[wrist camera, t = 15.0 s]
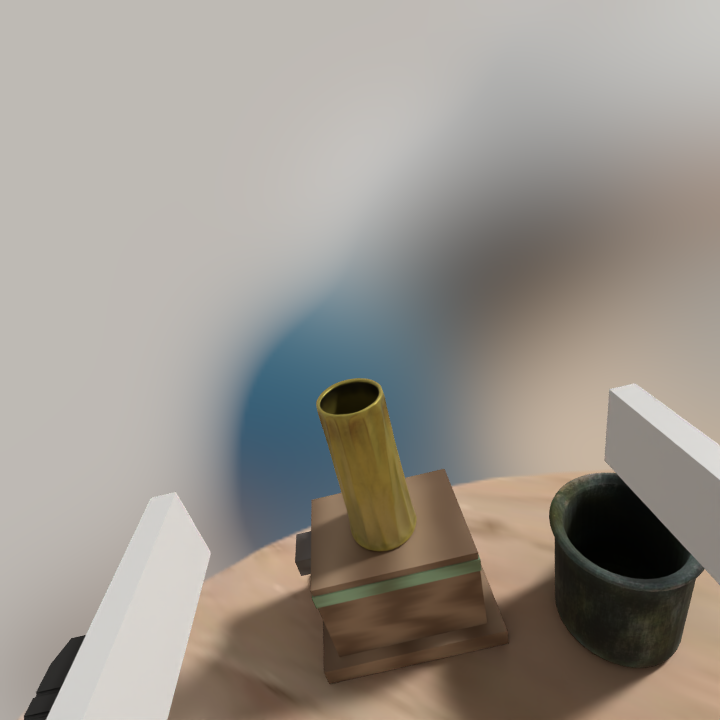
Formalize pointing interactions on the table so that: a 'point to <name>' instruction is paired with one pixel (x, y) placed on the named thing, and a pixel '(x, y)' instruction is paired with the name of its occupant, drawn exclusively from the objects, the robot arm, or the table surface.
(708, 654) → the table surface
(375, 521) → the vase
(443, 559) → the stand
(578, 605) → the mug
